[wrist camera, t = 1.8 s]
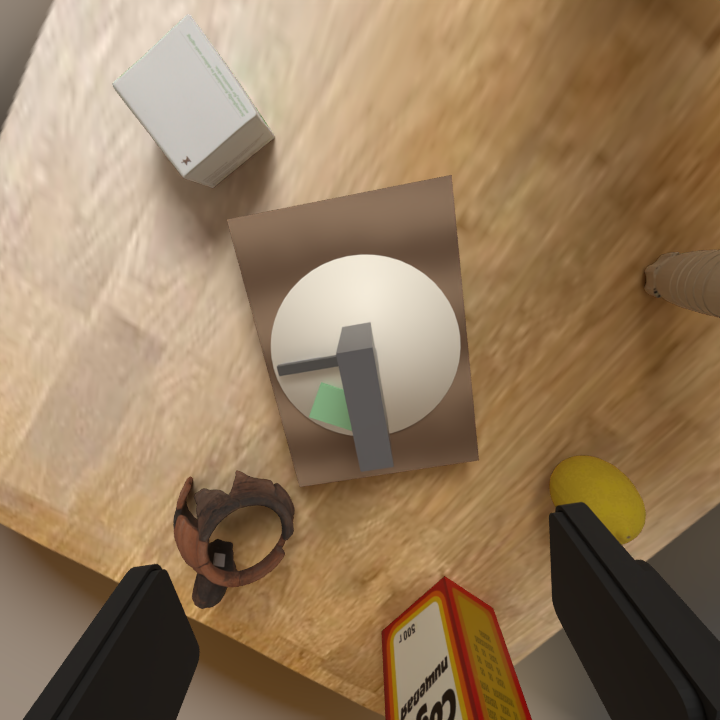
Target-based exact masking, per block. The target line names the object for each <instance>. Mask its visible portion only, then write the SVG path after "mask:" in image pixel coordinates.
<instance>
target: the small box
mask: <svg viewBox="0 0 720 720" xmlns="http://www.w3.org/2000/svg"><path fill="white" fill-rule="evenodd" d="M113 87H114V89H115V90H116V92H117V93H118V94H119V96H120V97H121V98H122V100H123V101H124V102H125V104H126V105H127V106H128V108H129V109H130V110H131V111H132V113H133V114H134V115H135V117H136V118H137V119H138V120H139V122H140V123H141V124H142V125H143V127H144V128H145V129H146V130H147V132H148V133H149V134H150V136H151V137H152V138H153V140H154V141H155V142H156V144H157V145H158V146H159V148H160V149H161V150H162V151H163V153H164V154H165V155H166V157H167V158H168V159H169V160H170V162H171V163H172V164H173V166H174V167H175V168H176V169H177V171H178V172H179V173H180V175H181V176H182V177H183V178H185V179H188V180H190V181H193V182H196V183H199V184H202V185H205V186H208V187H211V188H214V187H215V186H216V185H217V184H219V183H220V182H221V181H222V180H223V179H224V178H226V177H227V176H228V175H229V174H231V173H232V172H233V171H234V170H235V169H237V168H238V167H239V166H240V165H242V164H243V163H244V162H245V161H246V160H248V159H249V158H250V157H251V156H252V155H254V154H255V153H256V152H257V151H259V150H260V149H261V148H262V147H264V146H265V145H266V144H267V143H269V142H270V141H271V140H272V139H274V138H275V136H274V134H273V132H272V131H271V129H270V128H269V127H268V125H267V124H266V122H265V121H264V119H263V118H262V116H261V115H260V113H259V112H258V110H257V109H256V107H255V106H254V104H253V103H252V101H251V99H250V98H249V96H248V95H247V93H246V92H245V91H244V89H243V88H242V86H241V85H240V83H239V82H238V80H237V79H236V77H235V76H234V74H233V73H232V72H231V70H230V69H229V67H228V66H227V64H226V63H225V62H224V60H223V59H222V57H221V56H220V54H219V53H218V52H217V50H216V49H215V47H214V46H213V45H212V43H211V42H210V41H209V39H208V38H207V37H206V35H205V34H204V33H203V31H202V30H201V29H200V27H199V26H198V24H197V23H196V22H195V20H194V19H193V18H192V16H191V15H189V14H188V15H186V16H185V17H184V18H183V19H182V20H181V21H180V22H179V23H177V24H176V25H175V26H174V27H173V28H172V29H171V30H170V31H168V33H166V34H165V35H164V36H163V37H162V38H161V39H160V40H159V41H158V42H157V43H156V44H155V45H154V46H153V47H152V48H151V49H150V50H149V51H148V52H147V53H146V54H145V55H144V56H143V57H141V58H140V59H139V60H138V61H137V62H136V63H135V64H133V65H132V66H131V67H130V68H129V69H128V70H127V71H126V72H124V73H123V74H122V75H121V76H120V77H119V78H117V79H116V80H115V81H114V82H113Z"/></svg>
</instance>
